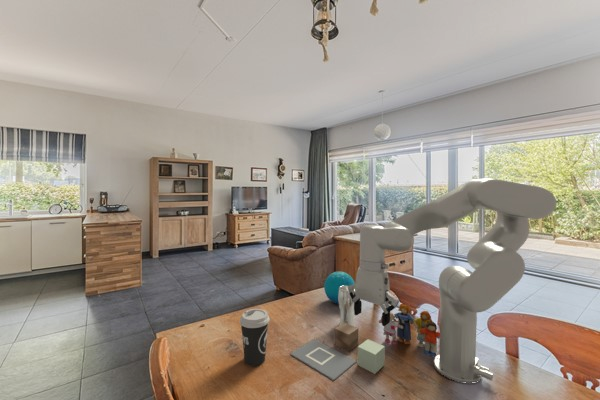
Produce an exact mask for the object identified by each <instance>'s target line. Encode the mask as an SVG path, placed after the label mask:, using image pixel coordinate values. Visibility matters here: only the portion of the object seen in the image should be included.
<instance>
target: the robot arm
mask: <svg viewBox="0 0 600 400" xmlns="http://www.w3.org/2000/svg"><path fill="white" fill-rule="evenodd" d="M556 207H557V200H556V197H555V196H554V194H553V193H552V192H551V191H550V190H548V189H546V188H544V187H541V186H537V185H531V184H524V183H518V182H513V181H508V180H502V179H498V178H497V179H496V178H477V179H471V180H468V181H467V182H465V183H462V184H461V185H459V186H457V187H456V188H454V189H452V190H450V191H449V192H446V193H445V194H443V195H441V196H440V197H438V198H436V199H434V200H433V201H430V202H429V203H426V204H423V205H421V206H420V207H417V208H415V209H413V210H410V211H408V212H406V213H404V214H402V215H400V216H398V217H396V218H394V219H393V220H391V221H390V222H388V223H387V224H385V226H382V225H378V224H377V225H376V224H365V225H362V226H361V227H360V230H359V231H360V232H359V267H358V268H357V271H356V276H355V281H354V283H355V284H353V285H350V286H348V287H347V288H348V291H349V293H350V296H351V298H352V299H353V300H352V301H353V302H354V315H353V316H358V315H360V314H361V313H362V301H364V302H367V303H371V304H374V305H377V306H379V307H380V308H381V309H382V311H383V312H381V313H382V314H381V317H382V323H381V326H382V327H384V326H386V325H387V324H388V323H389V322H390V312H392V311H393V310H394V309H396V308H397V307H398V306H397V305H398V304H399V303H400V300H399V299H398V298H397V297H396V296H394V295H393V294H392V293H391V289H390V287H391V286H390V277H389V274H388V269H389V264H387V263H386V260H385V258H386V256H385V255H386V251H391V252H398V253H401V252H403V253H404V252H406V251H410V249H411V248H412V247H413V246H414V244H415V236H414V235H416V234H419V233H421V232H423V231H427V230H432V229H442V228H445V227H449V226H451V225H454V223H456V222H458V221H460V220H462V219H464V218H466V217H467V216H469V215H472V214H473V213H475V212H477V211H478V210H480V209H481V210H482V209H483V210H489V211H494V212H496V216H497V217H496V220H495V223H494V225H493V226H492V227H491V228H490V230H489V231H488V232H487V233H486V234H484V236H482V237H481V239H479V240H478V241H477V242H476V243H475V244H474V245H473V246H472V247H471V248H470V249H469V251H467V255H466V261H467V263H468V264H469V266H470V267H471V268H473V269H474V271H473V272H472V271H471V270H469V269H468V268H465V267H463V266H460V265H450V266H447V267H445V268H444V269H443V270H442V271H441V273H440V274H439V277H438V291H439V296H440V297H439V299H440V317H439V319H440V320H439V333H440V338H439V350H438V352H439V354H438V355H437V356H436V357H433V366H434V368H435V370H436V371H437V372H438V373H439V374H440V373H441V374H440V375H442V376H443V375H444V377H445V376H446V377H448V378H450V379H449V380H451V379H452V380H451V381H453V380H455V381H454V382H456V381H459V382H466V383H472V382H477V381H479V380H480V379H481V380H482V378H484V379H487V380H489V381H490V382H492V381H493V378H494V373H493V372H490V370H491V369H490V368H489V367H487V366H483V365H481V363H479V358H478V357H476V352H477V351H476V349H477V326H478V325H477V321H478V315H477V314H478V313H482V312H486V311H487V310H489V309H491V308H493V307H494V306H495V305H496V304H497V303H498V302H499V301H500V300H501V299H502V298H503V297H505V295H506V294H508V293H509V292H510V291H511V290H512V289H513V288H514V287H515V286H516V285H517V284H518V283H519V282H520V281H521V279H522V278H523V277H524V274H525V269H526V263H525V261H524V258H523V256H521V255H520V254H519V252H518V250H519V249H521V247H523V245H524V244H525V243H526V241H527V239H528V237H529V236H530V235H529V234H530V224H529V219H530V220H531V219H532V220H539V219H540V220H541V219H544V218H546V217H548V216H550V215H551V214H553V212H554V211H555V209H556ZM354 288H355V292H354ZM389 302H391V304H390V303H389ZM446 377H445V378H446ZM448 378H447V379H448ZM481 380H480V381H481ZM480 381H479V382H480ZM459 382H458V383H459ZM477 383H478V382H477Z"/></svg>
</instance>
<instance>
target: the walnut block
mask: <svg viewBox="0 0 600 400" xmlns="http://www.w3.org/2000/svg"><path fill="white" fill-rule="evenodd" d="M333 336H334V340H333V341H334V342H333V343H334V344H333V345H334V346H336V347H338V348H341V349H342V350H344V351H346V352H351V351H352V350H353V349H355V348H356V347H358V346H359V327H356V326H355V325H354V326H352V325H349V324H347V323H343V324H341V325H339V324H338V326H336V327H335V328H334V335H333Z"/></svg>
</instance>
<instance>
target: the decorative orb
mask: <svg viewBox="0 0 600 400" xmlns="http://www.w3.org/2000/svg"><path fill="white" fill-rule="evenodd" d="M353 284H355V280H354V279H353V277H352V276H351V275H349V273H347V272H346V271H345V272H344V271H340V270H339V271H334V272H332V273H330V274H329V275H328V276H327V277H326V279H325V281H324V285H323V287H324V292H325V295H326V298H328V300H330V301H331V302H333V303H334V304H337V305H339V302H338V295H339V287H341V286H350V285H353Z"/></svg>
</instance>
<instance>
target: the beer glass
mask: <svg viewBox="0 0 600 400" xmlns="http://www.w3.org/2000/svg"><path fill="white" fill-rule="evenodd" d="M347 287H348V286H341V287H339V295H338V302H339V304H338V309H339V315H340V316H339V317H340V318H339V321H338V326H339V325H341V324H343V323H347V324H349V325H352V326H354V327H355V319H354V316H355V315H354V302H353V301H352V300H353V299H352V298H351V296H350V293H349V291H348V288H347ZM354 292H355V288H354Z"/></svg>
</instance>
